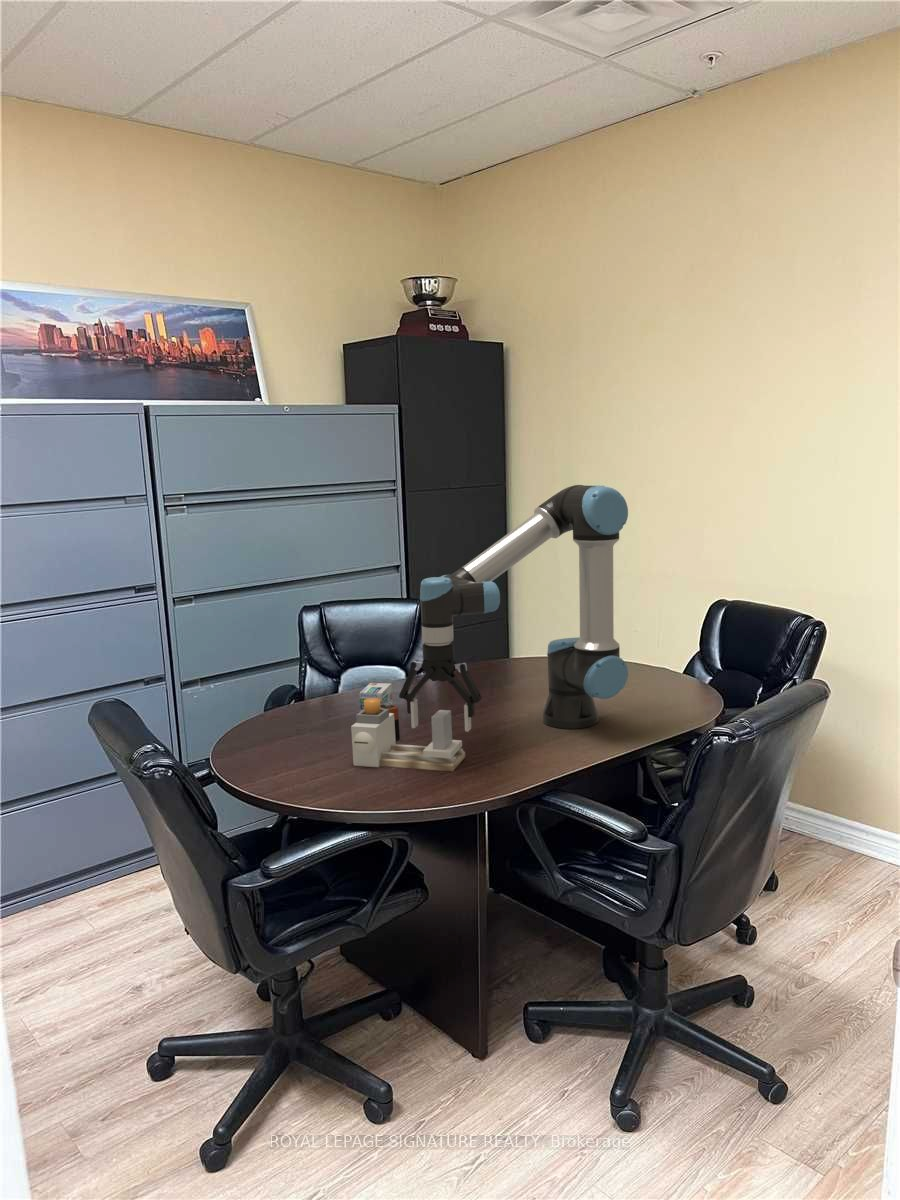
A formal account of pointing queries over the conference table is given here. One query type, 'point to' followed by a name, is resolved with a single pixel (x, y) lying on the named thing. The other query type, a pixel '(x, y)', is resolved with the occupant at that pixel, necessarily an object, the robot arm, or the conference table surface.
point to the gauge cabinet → (372, 737)
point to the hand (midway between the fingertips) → (441, 728)
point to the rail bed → (419, 758)
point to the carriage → (442, 737)
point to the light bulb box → (376, 693)
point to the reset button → (372, 706)
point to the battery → (396, 717)
